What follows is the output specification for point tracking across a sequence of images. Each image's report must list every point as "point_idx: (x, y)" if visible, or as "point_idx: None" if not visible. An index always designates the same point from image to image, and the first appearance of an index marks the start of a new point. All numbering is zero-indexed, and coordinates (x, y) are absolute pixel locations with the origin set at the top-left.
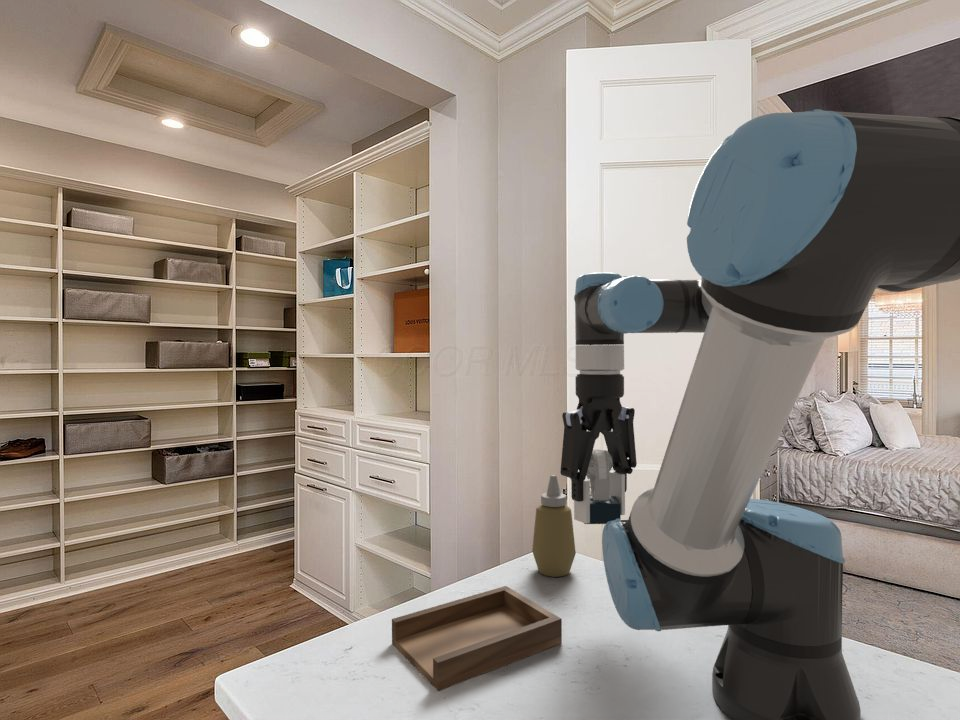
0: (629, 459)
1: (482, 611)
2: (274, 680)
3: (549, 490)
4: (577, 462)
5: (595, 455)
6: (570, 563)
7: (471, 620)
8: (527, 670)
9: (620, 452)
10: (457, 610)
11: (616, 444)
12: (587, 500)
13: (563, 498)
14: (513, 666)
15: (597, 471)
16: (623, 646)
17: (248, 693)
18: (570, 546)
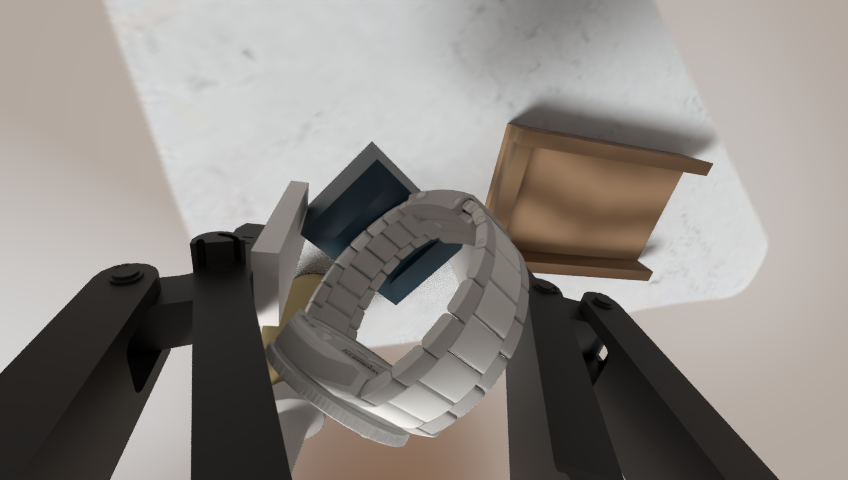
0: (144, 311)
1: (525, 251)
2: (727, 274)
3: (305, 434)
4: (618, 340)
5: (499, 358)
6: (301, 281)
7: (550, 243)
8: (595, 109)
9: (246, 349)
10: (568, 260)
11: (275, 412)
12: None
13: (284, 397)
14: (596, 130)
15: (523, 261)
16: (450, 38)
17: (750, 269)
18: (298, 300)
